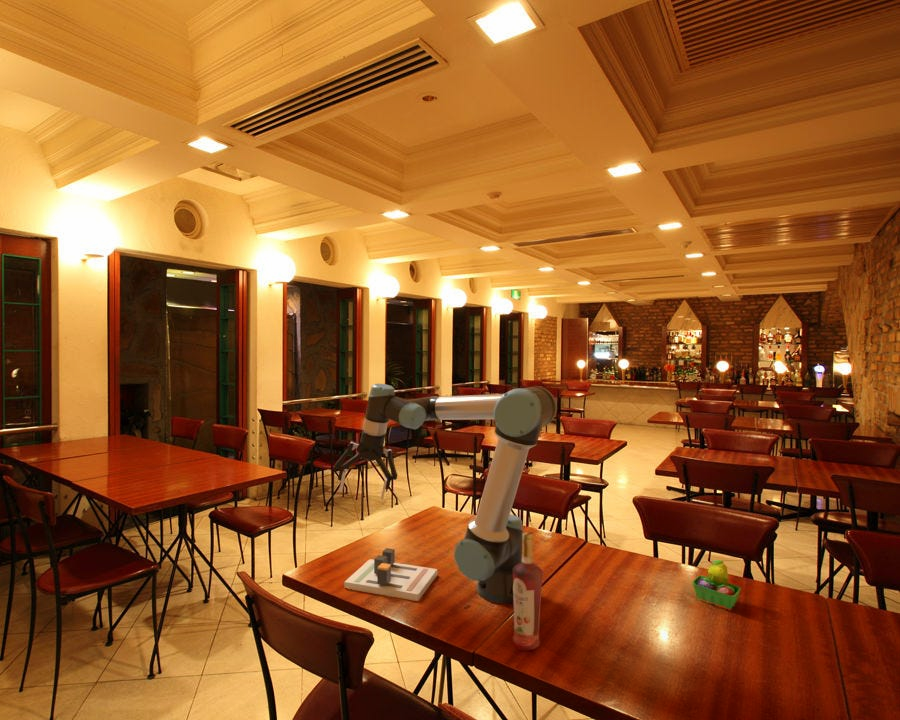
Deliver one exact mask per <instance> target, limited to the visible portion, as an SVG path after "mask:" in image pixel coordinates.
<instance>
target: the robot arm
mask: <svg viewBox="0 0 900 720" xmlns="http://www.w3.org/2000/svg"><path fill="white" fill-rule="evenodd" d="M369 391H370V392H369V395H368V399H367V407H366V413H365V416H364V419H363V424H362V425H363V426H362V432H361V436H360V439H359V443H356V442H355V441H353V440H351V441H350V443H349V445H348V448H347V449H346V450H345V451H344V453H343V454H342V455H341V456H340V457H339V459H338V460H337V461H336V463H335V465H334V469H336V470H338V471H339V472H338V478H337V479H338V481H340V485H339V489H338V491H339V492H342V491H343V489H344V484H345V479H346V475H347V469H348V468H349V467H350V466H352V465H353V464H354V463H356V462H357V461H358V460H360V459H363V460H365V461H371V462H374V461H376V464H377V465H378V466H379V468H380V470H381V472H382V473H383V474H384V481H383V487H382V491H381V495H380V500H384V497H385V492H386V490H389V489H390V485H391V482H392V480H394V481H396V480H397V479H398V472H397V469H396V465H395V462H394V458H393V449H392V448H389V449H386V448H385V449H384V444H385V439H386V434H387V429H388V425H389V421H392V422H394V423H396V424H399V425H401V426H402V427H404V428H406V429H407V428H409V429H412V430H417V429H419V428H420V427H421V426H423V424H424V422H425V421H426V422H427V421H443V420H444V421H446V420H447V421H448V420H449V421H450V420H452V421H455V420H458V421H459V420H466V421H467V420H468V421H469V420H471V421H472V420H493V421H495V424H496V425H495V429H494V434H495V436H496V438H497V442H496V445H495V449H494V453H493V456H492V458H491V459H492V460H491V464H490V467H489V470H488V473H487V477H486V480H485V484H484V488H483V492H482V494H481V498H480V503H479V505H478V509H477V512H476V516H475V517H473V518H471V519H470V520H469V521H468V523H467V528H466V531H465V534H464V537H463V539H462V540H459V542H457V544H456V546H455V548H454V551H453V552H454V553H453V555H454V556H453V557H454V560H455V561H454V562H455V564H456V566H457V567H458V570H459V571H460V572H461V574H462V575H463V576H465V578H468V579H469V580H471V581H474V582H476V583H477V584H476V586H477V587H476V590H477V593H478V595H479V596H480V597H481V598H483V599H485V600H486V601H489V602H492V603H496V604H514V600H513V570H512V569H513V567H514V566H516V565H517V564H519V563H521V562H522V553H523V541H522V533H523V531H524V528H523V521H522V519H521V518H520V517H519V516H516V515H513V514H511V511H512V509H513V505H514V501H515V498H516V495H517V491H518V487H519V484H520V481H521V478H522V474H523V472H524V468H525V464H526V461H527V459H528V458H527V457H528V454H529V451H530V450H531V448H533V447H536V446H537V444H538V441H539V438H540V434H541V431H542V428H544V427H546V426H548V425H549V424H551V422H552V421H553V420H554V418H555V416H556V414H557V411H558V410H557V409H558V406H557V402H556V398H555V396H554V395H553V394H552V393H551V392H550V390H548V389H546V388H544V387H542V386H536V385H534V386H527V387H524V388H523V387H521V388H519V387H517V388H514V389H511V390H509V391H507V392H505V393H494V394H492V393H491V394H472V395H469V394H468V395H447V396H435V395H431V396H430V395H429V396H426V397H421V398H412V399H404V398H401V397H399V396H397V395H395V388H394V387H393V386H392V385H389V384H385V383H374V384H373V385H371V387H370V390H369ZM355 449H357V451H358V453H356V454H355V455H354V456H352V457H351V458H350V459H349V460H347V461H346V462H345V459H347V457H348V456H349V455H350V453H351V452H352V451H354V450H355ZM383 454H384V456H385V457H386V458H387V462H388V466H389V469H390V470H389V469H388V467H387V465H386V464H385V461H384V460H383V457H382V456H383ZM343 462H344V463H343Z"/></svg>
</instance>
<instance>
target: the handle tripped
mask: <svg viewBox="0 0 900 720" xmlns="http://www.w3.org/2000/svg"><path fill="white" fill-rule="evenodd" d="M390 581H391V564H385V563H381V564H380V565H379V566H378V574H377V584H380V585H386V586H387V585H388V583H389V582H390Z"/></svg>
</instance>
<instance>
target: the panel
mask: <svg viewBox="0 0 900 720" xmlns="http://www.w3.org/2000/svg"><path fill="white" fill-rule="evenodd" d="M437 576H438V569H437V568H432V567H431V568H430V567H426V566H425V567H424V566H418V565H411V564H405V563H398V562H395V563H394V564H393V565H392V566H391V581H390V582H389V583H388V585H387V586H386V585H380V584H377V574H375V573H374V559H372V558H369V559H368V560H367V561H366V562H364V564H363V565H362V566H360V567H359V568H358V569H356V571H355V572H354V573H352V574H351V575H350V576H349V577H348V578H347V579H346V580H345V581H344V589H345V588H347V590H351V589H352V591H358V592H363V593H369V594H370V593H371V594H374V595H381V596H386V597H393V598H399V599H403V600H410V601H415V602H419V601H420V600H421V598H422V597H423V595H424V594H425V593H426V591H427V590H428V589H429V587H430V586H431V584H432V583H433V582H434V580H435V579H436V578H437Z"/></svg>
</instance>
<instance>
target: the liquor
mask: <svg viewBox="0 0 900 720" xmlns="http://www.w3.org/2000/svg"><path fill="white" fill-rule="evenodd" d="M533 545H534V533H533V532H530V531H524V532H523V533H522V562H521V563H519V564H517V565H516V566H514V567H513V569H512V570H513V600H514V603H513V622H514V623H513V624H514V625H513V629H514V630H513V631H514V632H513V633H514V635H513V636H512V638H511V639H512V643H513V644H514V645H515V646H516V647H517V648H518V649H519V648H520V649H519V650H521V649H522V650H521V651H523V650H525V651H524V652H531V651H530V650H532V651H534V650H535V649H537V648H538V647H540V645H541V639H540V638H539V637H540V613H541V599H542V589H543V586H542V585H543V570H542V568H540V567H539V566H538V565H537V564H535V563H534V551H533Z"/></svg>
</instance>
